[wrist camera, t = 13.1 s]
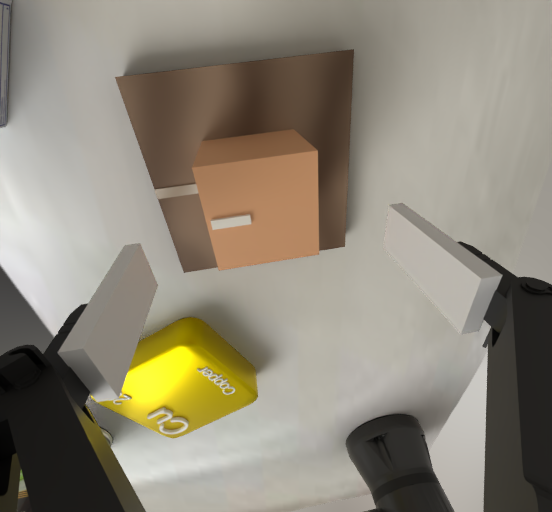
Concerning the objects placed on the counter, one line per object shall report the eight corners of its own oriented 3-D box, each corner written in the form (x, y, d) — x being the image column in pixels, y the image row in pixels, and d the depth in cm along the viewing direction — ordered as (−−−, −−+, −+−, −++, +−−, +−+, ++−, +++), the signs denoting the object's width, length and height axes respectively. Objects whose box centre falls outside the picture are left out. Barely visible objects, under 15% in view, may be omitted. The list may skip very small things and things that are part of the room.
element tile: (261, 370, 40) (264, 402, 37) (177, 411, 43) (172, 445, 39) (193, 309, 32) (189, 342, 28) (95, 363, 35) (78, 401, 31)
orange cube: (293, 129, 22) (318, 151, 16) (298, 212, 25) (320, 256, 19) (201, 141, 21) (191, 168, 15) (220, 224, 25) (218, 272, 19)
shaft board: (346, 50, 21) (388, 43, 15) (339, 239, 29) (364, 276, 24) (122, 76, 20) (82, 78, 14) (186, 263, 28) (176, 308, 23)
